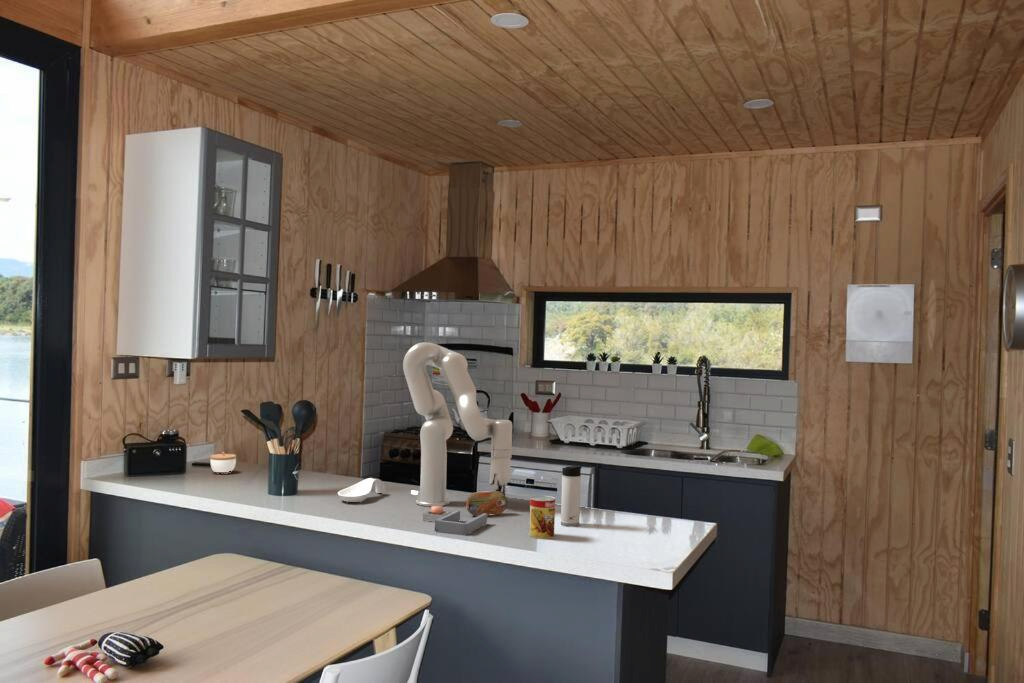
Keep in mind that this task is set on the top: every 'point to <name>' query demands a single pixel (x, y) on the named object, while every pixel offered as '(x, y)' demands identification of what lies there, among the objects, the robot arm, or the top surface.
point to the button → (437, 510)
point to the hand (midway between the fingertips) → (500, 503)
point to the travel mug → (570, 496)
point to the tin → (486, 503)
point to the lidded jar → (223, 462)
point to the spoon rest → (361, 490)
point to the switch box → (434, 516)
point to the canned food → (542, 517)
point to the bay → (452, 526)
